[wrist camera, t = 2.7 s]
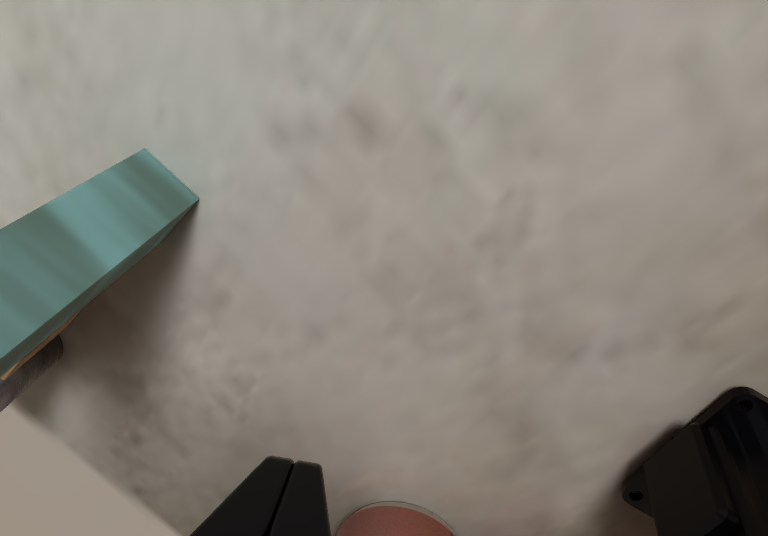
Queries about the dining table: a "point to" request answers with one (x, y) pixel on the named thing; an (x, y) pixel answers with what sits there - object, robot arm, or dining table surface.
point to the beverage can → (394, 521)
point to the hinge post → (29, 372)
